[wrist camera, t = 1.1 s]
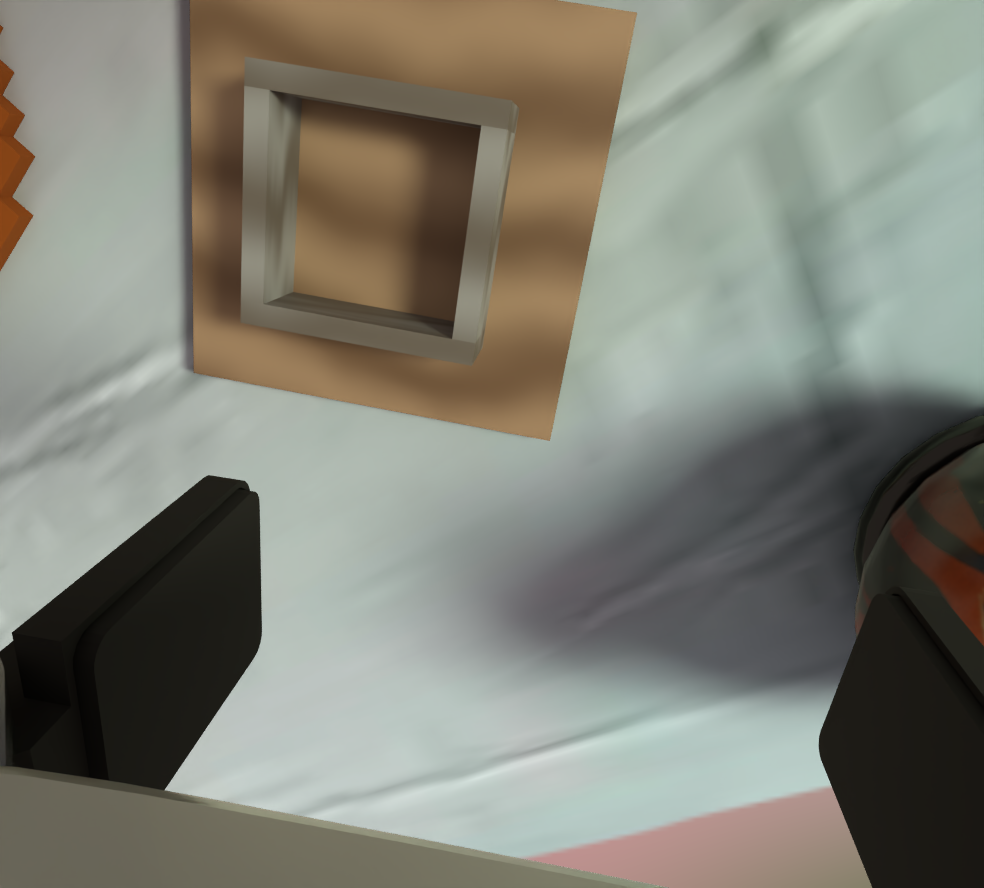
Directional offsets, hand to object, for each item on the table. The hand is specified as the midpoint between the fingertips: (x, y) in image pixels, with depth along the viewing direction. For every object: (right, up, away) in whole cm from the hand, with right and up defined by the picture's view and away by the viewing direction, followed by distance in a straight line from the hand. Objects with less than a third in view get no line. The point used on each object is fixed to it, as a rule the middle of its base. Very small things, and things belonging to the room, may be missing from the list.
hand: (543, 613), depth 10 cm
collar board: (-6, +15, +28) cm, 33 cm away
